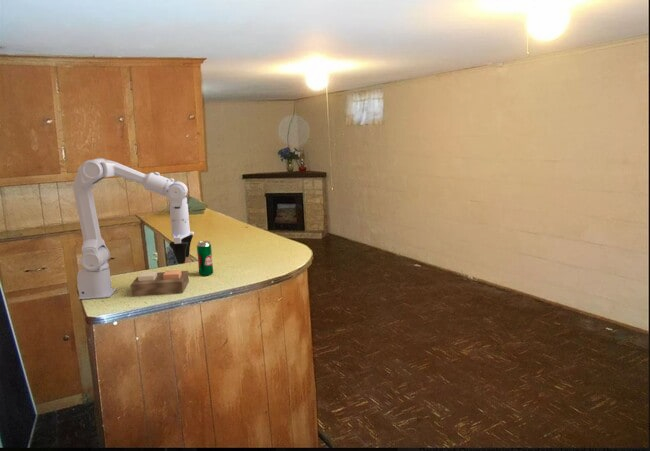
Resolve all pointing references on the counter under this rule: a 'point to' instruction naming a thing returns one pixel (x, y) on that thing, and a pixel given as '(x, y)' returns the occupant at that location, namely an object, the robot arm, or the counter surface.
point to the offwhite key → (147, 276)
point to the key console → (160, 285)
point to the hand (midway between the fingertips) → (183, 260)
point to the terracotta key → (172, 274)
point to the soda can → (204, 258)
